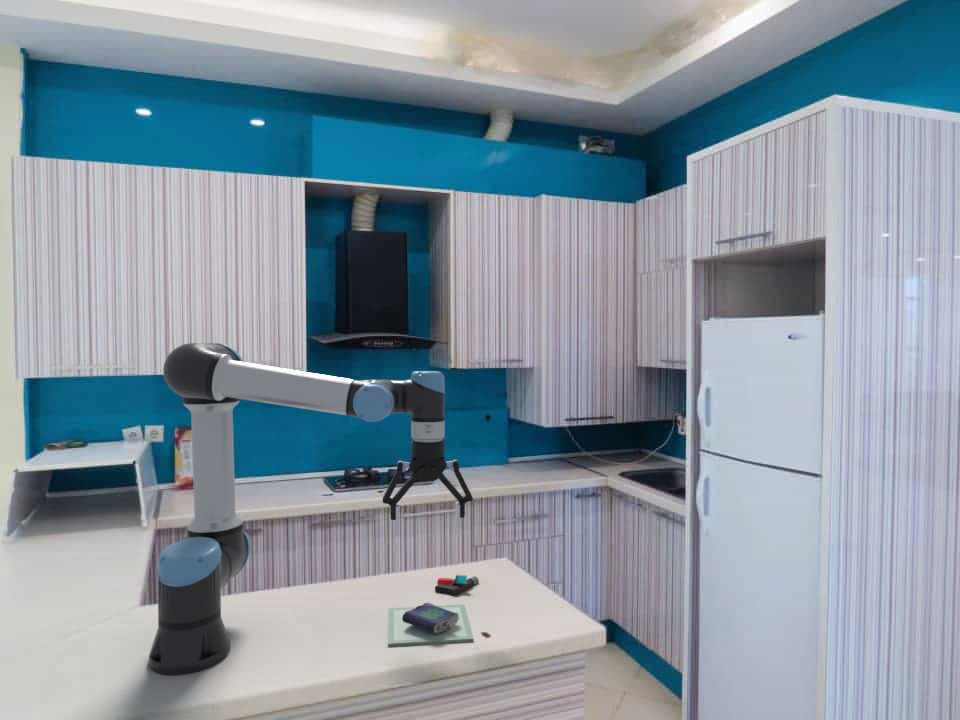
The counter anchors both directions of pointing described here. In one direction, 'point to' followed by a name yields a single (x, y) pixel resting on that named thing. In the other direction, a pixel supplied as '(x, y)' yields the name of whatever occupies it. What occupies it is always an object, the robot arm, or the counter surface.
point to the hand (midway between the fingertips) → (427, 533)
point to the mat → (414, 635)
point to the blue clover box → (431, 618)
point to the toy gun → (455, 584)
